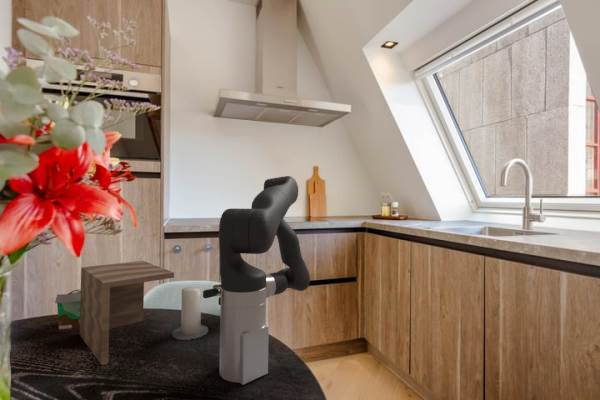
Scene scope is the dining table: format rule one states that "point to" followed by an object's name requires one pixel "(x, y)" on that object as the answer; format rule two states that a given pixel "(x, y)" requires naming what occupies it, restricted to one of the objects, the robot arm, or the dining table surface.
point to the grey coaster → (180, 336)
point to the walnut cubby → (113, 300)
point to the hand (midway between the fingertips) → (211, 297)
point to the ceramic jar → (191, 310)
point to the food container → (69, 311)
